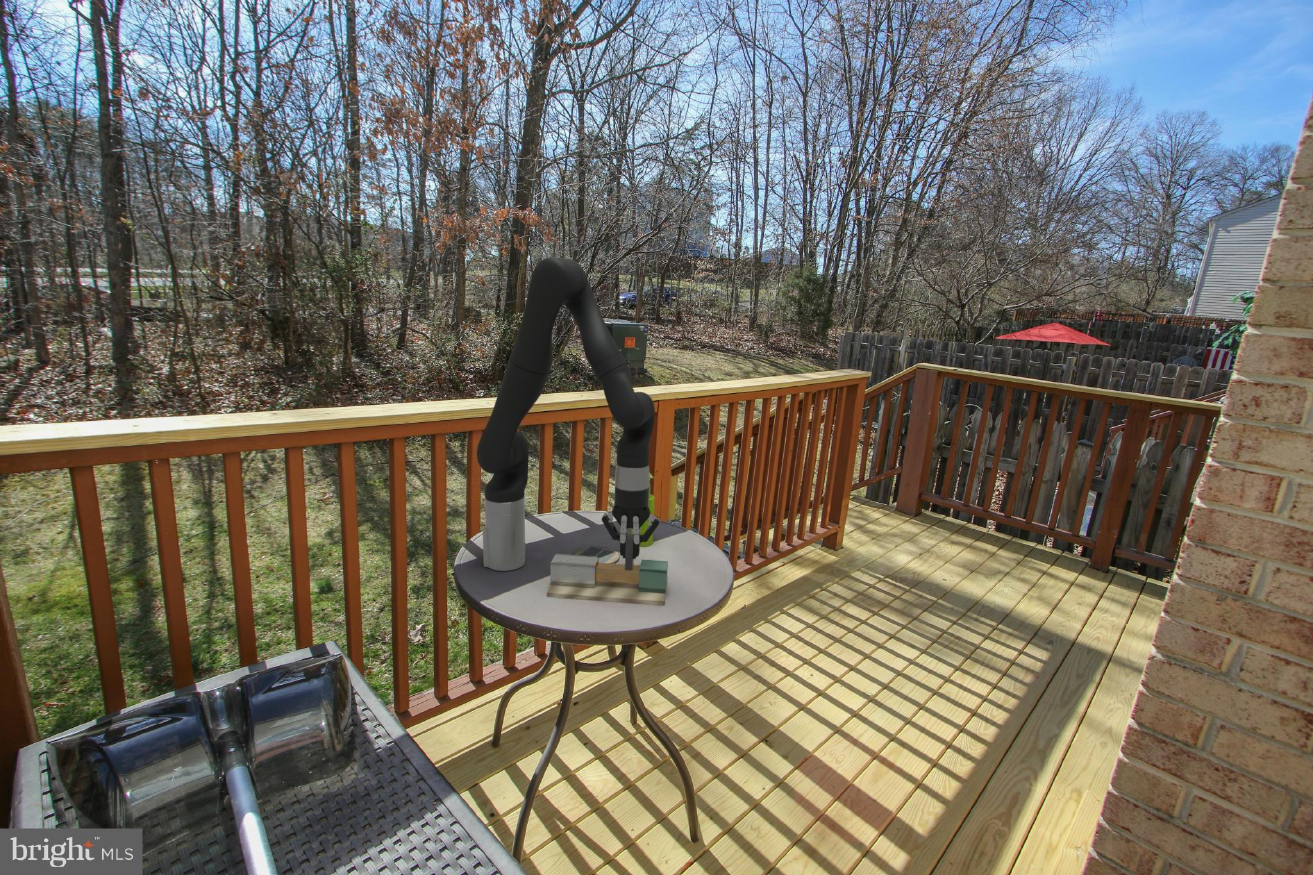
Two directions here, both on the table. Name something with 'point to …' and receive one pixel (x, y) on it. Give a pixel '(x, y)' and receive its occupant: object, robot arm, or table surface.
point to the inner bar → (620, 567)
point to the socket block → (653, 576)
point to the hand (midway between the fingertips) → (629, 557)
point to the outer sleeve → (573, 570)
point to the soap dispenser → (646, 524)
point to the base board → (609, 593)
